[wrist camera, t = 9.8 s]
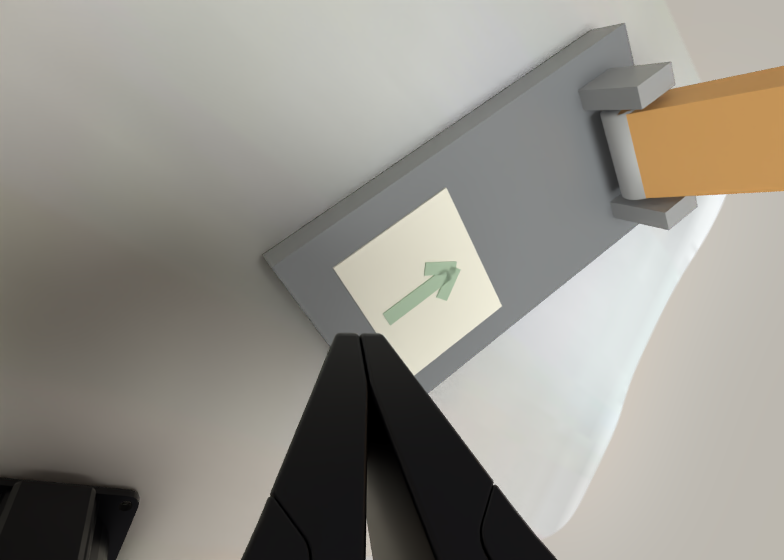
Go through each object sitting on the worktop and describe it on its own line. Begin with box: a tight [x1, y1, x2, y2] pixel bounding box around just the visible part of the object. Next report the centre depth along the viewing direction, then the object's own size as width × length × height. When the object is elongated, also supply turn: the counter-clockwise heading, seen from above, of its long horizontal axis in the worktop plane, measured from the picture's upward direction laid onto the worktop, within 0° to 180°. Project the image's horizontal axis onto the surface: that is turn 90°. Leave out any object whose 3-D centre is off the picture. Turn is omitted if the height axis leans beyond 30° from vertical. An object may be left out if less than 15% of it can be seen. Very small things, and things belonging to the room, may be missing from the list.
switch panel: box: [263, 23, 698, 394], centre depth 22 cm, size 20×10×5 cm, turn 119°
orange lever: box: [600, 66, 784, 200], centre depth 20 cm, size 2×4×10 cm, turn 29°
